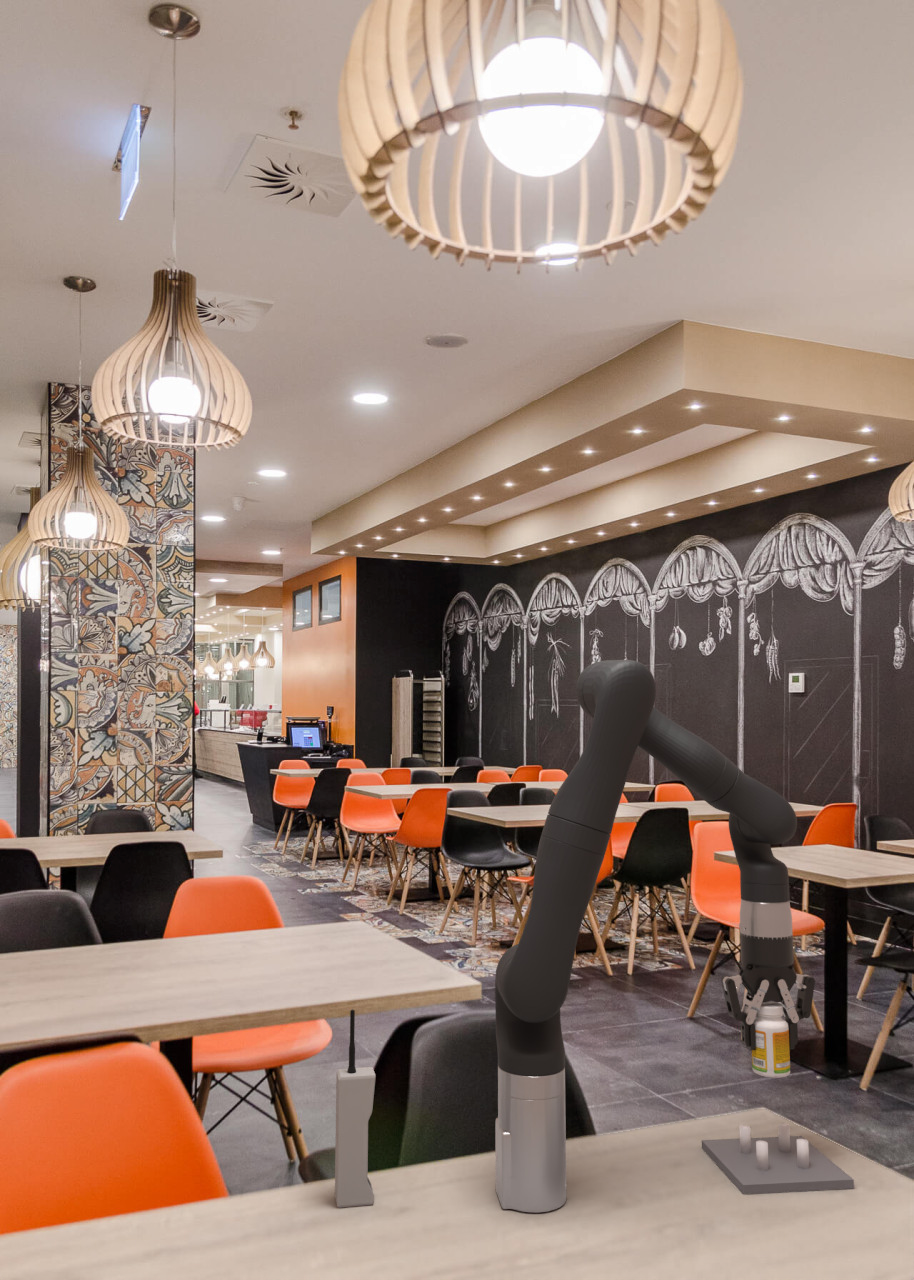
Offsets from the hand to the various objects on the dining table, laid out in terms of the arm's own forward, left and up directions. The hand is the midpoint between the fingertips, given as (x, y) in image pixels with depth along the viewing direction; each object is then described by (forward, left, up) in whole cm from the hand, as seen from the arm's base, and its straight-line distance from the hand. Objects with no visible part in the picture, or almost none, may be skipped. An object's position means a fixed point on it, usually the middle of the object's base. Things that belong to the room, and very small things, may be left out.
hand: (770, 1047), depth 147 cm
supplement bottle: (0, 0, -4) cm, 4 cm away
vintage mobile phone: (-61, -4, -17) cm, 63 cm away
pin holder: (0, 0, -17) cm, 17 cm away
